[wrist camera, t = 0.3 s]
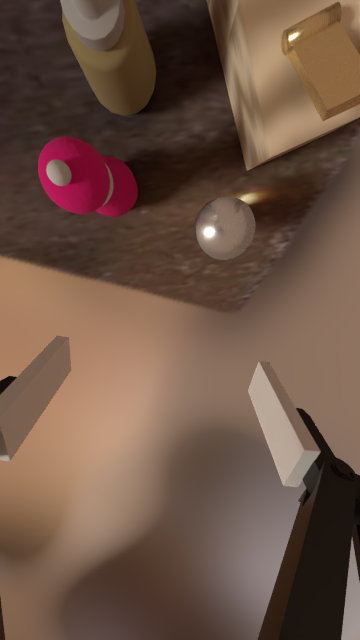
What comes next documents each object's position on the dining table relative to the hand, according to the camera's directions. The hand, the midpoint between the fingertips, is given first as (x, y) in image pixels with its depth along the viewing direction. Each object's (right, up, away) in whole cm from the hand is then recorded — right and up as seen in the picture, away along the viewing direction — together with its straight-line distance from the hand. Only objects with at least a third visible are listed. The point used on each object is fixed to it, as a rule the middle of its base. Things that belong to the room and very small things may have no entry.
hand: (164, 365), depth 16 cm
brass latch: (+14, +25, +4) cm, 29 cm away
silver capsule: (+6, +19, +21) cm, 29 cm away
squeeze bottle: (-6, +34, +14) cm, 37 cm away
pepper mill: (-8, +23, +20) cm, 32 cm away
